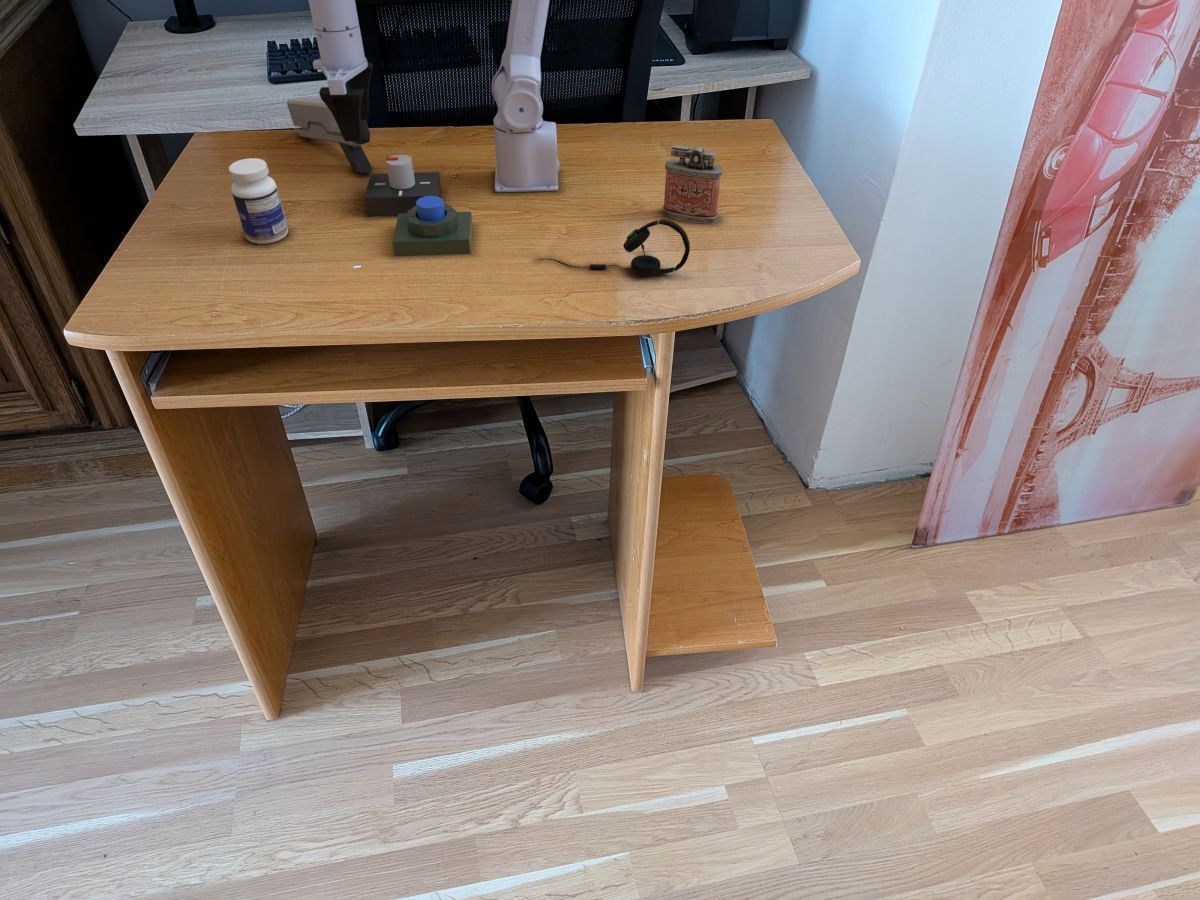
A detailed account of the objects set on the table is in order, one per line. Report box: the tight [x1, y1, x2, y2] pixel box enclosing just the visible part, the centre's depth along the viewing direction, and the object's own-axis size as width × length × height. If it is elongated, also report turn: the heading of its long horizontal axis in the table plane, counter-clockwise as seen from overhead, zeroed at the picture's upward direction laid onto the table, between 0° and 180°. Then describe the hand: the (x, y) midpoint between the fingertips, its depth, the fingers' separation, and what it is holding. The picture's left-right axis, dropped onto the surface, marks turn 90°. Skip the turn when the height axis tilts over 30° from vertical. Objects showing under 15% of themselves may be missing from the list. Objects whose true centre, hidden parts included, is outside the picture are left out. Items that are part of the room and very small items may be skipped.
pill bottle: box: [228, 157, 289, 245], centre depth 111 cm, size 6×6×10 cm
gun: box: [286, 97, 373, 175], centre depth 132 cm, size 2×25×10 cm, turn 41°
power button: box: [416, 196, 445, 221], centre depth 111 cm, size 4×4×2 cm
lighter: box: [661, 144, 723, 225], centre depth 117 cm, size 8×3×10 cm, turn 71°
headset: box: [537, 219, 691, 276], centre depth 109 cm, size 7×7×20 cm
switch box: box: [392, 203, 474, 257], centre depth 112 cm, size 10×8×4 cm
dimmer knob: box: [385, 154, 415, 189], centre depth 119 cm, size 4×4×4 cm
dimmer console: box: [363, 171, 443, 218], centre depth 121 cm, size 10×8×3 cm
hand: (356, 129), depth 118 cm, fingers open, 7 cm apart
